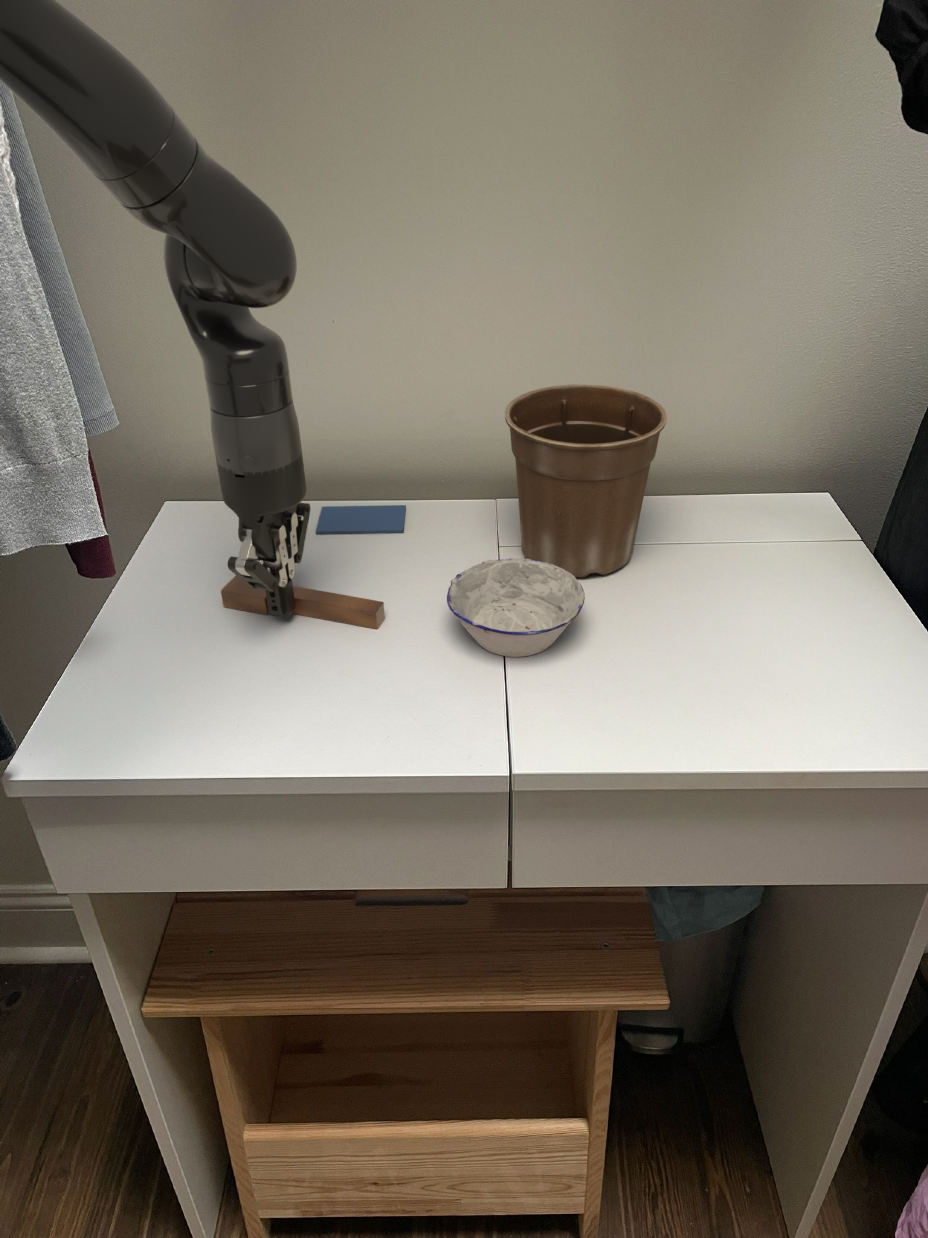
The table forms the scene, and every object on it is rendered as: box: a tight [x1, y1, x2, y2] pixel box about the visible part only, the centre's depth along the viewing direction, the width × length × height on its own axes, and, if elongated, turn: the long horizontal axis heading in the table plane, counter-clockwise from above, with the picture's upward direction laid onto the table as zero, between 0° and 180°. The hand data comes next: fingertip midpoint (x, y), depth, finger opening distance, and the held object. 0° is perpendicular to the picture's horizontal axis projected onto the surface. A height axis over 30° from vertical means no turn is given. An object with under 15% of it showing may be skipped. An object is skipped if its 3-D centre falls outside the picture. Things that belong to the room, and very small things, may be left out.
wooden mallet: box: [220, 575, 386, 630], centre depth 95 cm, size 16×4×2 cm, turn 72°
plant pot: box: [504, 383, 668, 578], centre depth 100 cm, size 16×16×16 cm
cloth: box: [315, 504, 407, 535], centre depth 110 cm, size 10×6×1 cm, turn 90°
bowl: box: [446, 558, 586, 658], centre depth 90 cm, size 13×13×5 cm
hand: (282, 612), depth 93 cm, fingers closed
